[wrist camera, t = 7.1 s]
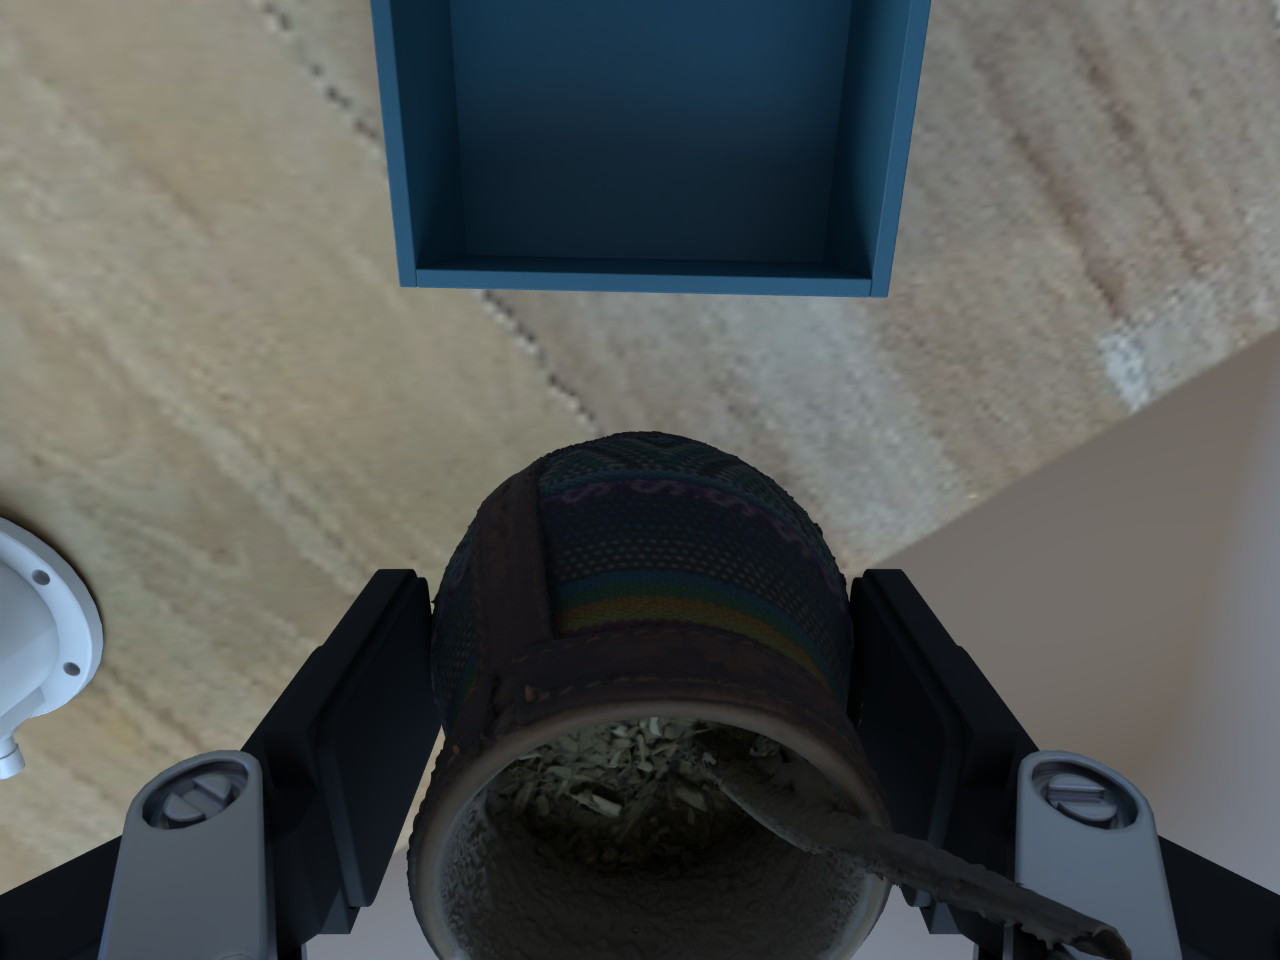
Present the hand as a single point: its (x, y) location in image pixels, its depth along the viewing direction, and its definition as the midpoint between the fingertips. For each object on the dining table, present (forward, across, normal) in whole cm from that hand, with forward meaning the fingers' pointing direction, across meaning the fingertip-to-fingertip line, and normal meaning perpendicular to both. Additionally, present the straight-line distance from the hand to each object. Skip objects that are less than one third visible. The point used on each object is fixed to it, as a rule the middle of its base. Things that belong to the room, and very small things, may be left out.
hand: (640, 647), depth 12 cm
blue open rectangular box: (+21, 0, +12) cm, 24 cm away
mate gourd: (+4, 0, 0) cm, 4 cm away
